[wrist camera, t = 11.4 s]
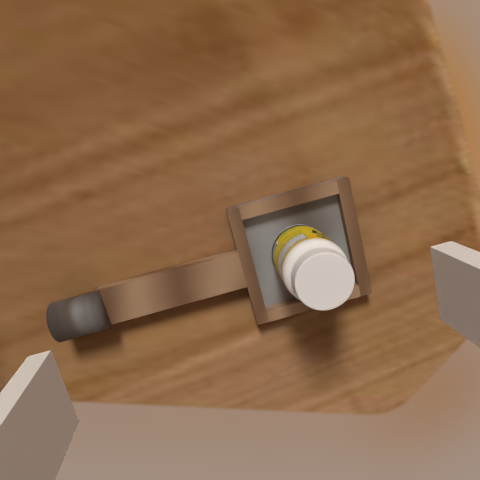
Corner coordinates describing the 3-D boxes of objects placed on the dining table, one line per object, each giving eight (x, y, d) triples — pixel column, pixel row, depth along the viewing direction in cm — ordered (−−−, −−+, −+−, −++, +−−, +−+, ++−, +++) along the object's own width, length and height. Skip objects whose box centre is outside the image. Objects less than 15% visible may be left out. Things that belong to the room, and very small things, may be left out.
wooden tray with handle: (83, 366, 37) (72, 386, 34) (41, 259, 35) (25, 270, 32) (366, 287, 38) (380, 300, 35) (343, 176, 35) (356, 179, 32)
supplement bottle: (337, 253, 36) (375, 286, 28) (294, 289, 37) (319, 331, 29) (303, 211, 35) (331, 232, 27) (258, 248, 36) (273, 279, 27)
